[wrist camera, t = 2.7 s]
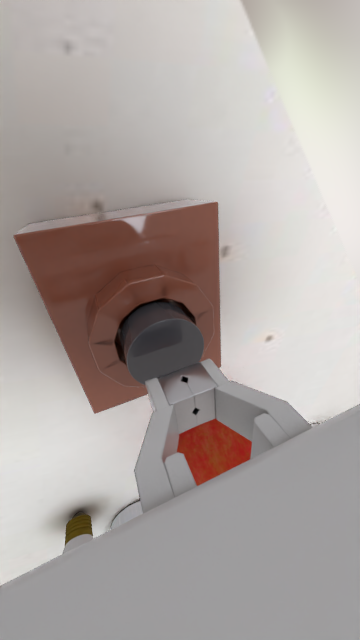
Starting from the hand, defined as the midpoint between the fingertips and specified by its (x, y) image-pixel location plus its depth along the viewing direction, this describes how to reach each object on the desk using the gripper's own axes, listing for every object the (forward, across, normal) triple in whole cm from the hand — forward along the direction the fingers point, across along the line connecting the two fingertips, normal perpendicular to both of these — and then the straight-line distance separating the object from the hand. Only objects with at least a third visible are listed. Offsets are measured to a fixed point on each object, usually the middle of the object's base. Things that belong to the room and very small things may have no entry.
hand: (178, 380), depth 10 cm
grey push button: (+4, 0, 0) cm, 4 cm away
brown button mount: (+9, 0, 0) cm, 9 cm away
